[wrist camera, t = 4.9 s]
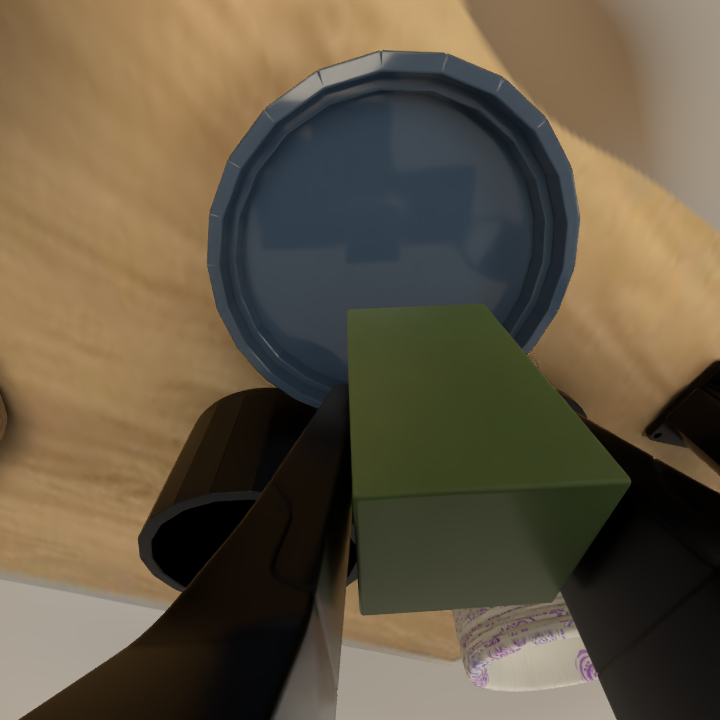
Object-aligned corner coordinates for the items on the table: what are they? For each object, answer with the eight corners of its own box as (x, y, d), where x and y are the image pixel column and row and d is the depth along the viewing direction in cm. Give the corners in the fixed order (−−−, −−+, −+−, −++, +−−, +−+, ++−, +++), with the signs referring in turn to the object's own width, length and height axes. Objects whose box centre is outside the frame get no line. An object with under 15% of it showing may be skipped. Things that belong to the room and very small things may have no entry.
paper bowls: (571, 592, 38) (620, 690, 31) (434, 600, 37) (455, 701, 31) (630, 511, 29) (714, 623, 22) (453, 521, 29) (487, 637, 22)
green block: (484, 302, 9) (636, 481, 4) (464, 406, 11) (553, 604, 6) (346, 308, 9) (351, 498, 4) (351, 412, 11) (360, 617, 6)
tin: (383, 407, 21) (398, 510, 15) (338, 510, 27) (337, 613, 21) (194, 370, 19) (129, 474, 13) (190, 491, 25) (143, 600, 19)
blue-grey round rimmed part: (619, 144, 14) (668, 146, 12) (460, 411, 22) (472, 440, 20) (243, -10, 11) (221, -43, 9) (215, 361, 19) (200, 390, 17)
